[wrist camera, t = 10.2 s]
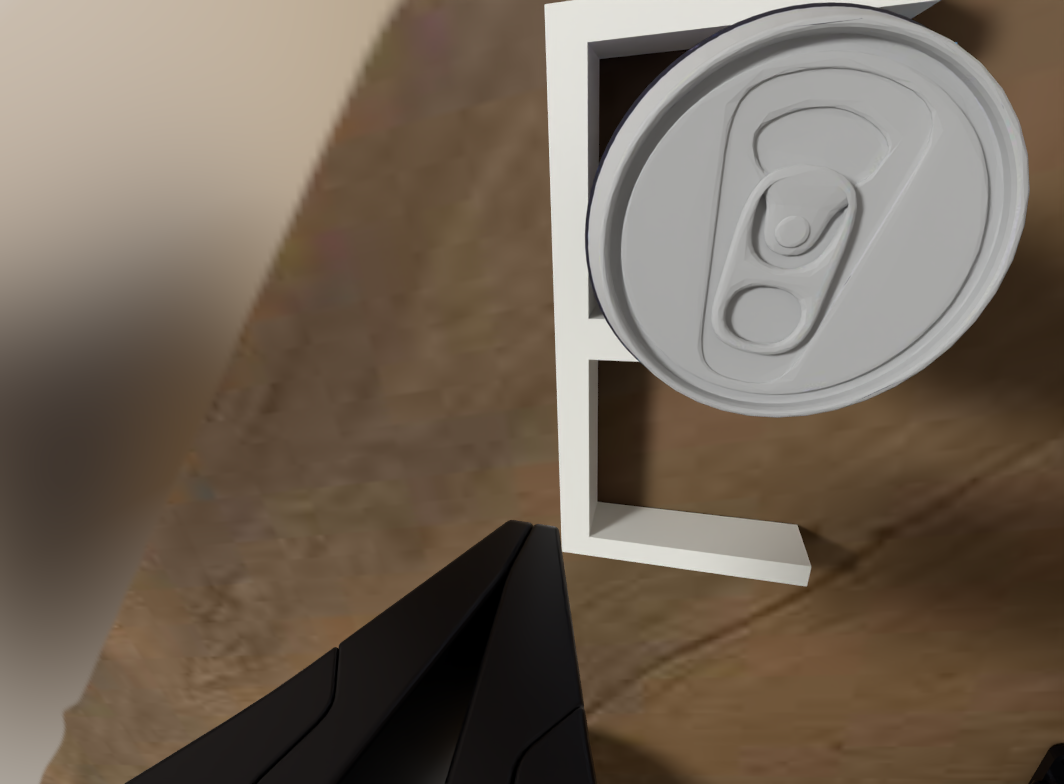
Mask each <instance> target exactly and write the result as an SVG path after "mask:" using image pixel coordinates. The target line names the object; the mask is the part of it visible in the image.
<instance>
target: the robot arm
mask: <svg viewBox="0 0 1064 784" xmlns="http://www.w3.org/2000/svg"><path fill="white" fill-rule="evenodd" d="M125 784H597V780H596V775H595V769H594V764H593V758H592V752H591V747H590V741H589V734H588V727H587V720H586V713H585V710H584V701H583V694H582V688H581V681H580V674H579V667H578V660H577V653H576V646H575V639H574V632H573V625H572V618H571V611H570V604H569V597H568V590H567V583H566V576H565V569H564V562H563V555H562V548H561V541H560V534H559V530H558V528H557V527H554V526H548V525H542V524H536V525H534V526H533V525H532V524H531V523H529V522H522V521H516V520H510V521H507V522H506V523H504V524H503V525H502V526H500V527H499V528H498V529H496V530H495V531H494V532H492V533H491V534H489V535H488V536H487V537H485V538H484V539H483V540H481V541H480V542H478V543H477V544H476V545H474V546H473V547H472V548H470V549H469V550H467V551H466V552H465V553H463V554H462V555H461V556H459V557H458V558H456V559H455V560H454V561H452V562H451V563H450V564H448V565H447V566H445V567H444V568H443V569H441V570H440V571H439V572H437V573H436V574H435V575H433V576H432V577H430V578H429V579H428V580H426V581H425V582H424V583H422V584H421V585H419V586H418V587H417V588H415V589H414V590H413V591H411V592H410V593H408V594H407V595H406V596H404V597H403V598H402V599H400V600H399V601H397V602H396V603H395V604H393V605H392V606H391V607H389V608H388V609H386V610H385V611H384V612H382V613H381V614H380V615H378V616H377V617H376V618H374V619H373V620H371V621H370V622H369V623H367V624H366V625H365V626H363V627H362V628H360V629H359V630H358V631H356V632H355V633H354V634H352V635H351V636H349V637H348V638H347V639H345V640H344V641H343V642H341V643H340V644H339V649H338V648H336V647H335V648H333V649H331V650H330V651H329V652H327V653H326V654H324V655H323V656H322V657H320V658H319V659H318V660H316V661H315V662H313V663H312V664H311V665H309V666H308V667H306V668H305V669H304V670H302V671H301V672H299V673H298V674H296V675H295V676H293V677H292V678H291V679H289V680H288V681H286V682H285V683H283V684H282V685H281V686H279V687H278V688H276V689H275V690H273V691H272V692H270V693H269V694H267V695H266V696H264V697H263V698H261V699H259V700H258V701H256V702H255V703H253V704H252V705H250V706H249V707H247V708H245V709H244V710H242V711H241V712H239V713H238V714H236V715H235V716H233V717H231V718H230V719H228V720H227V721H225V722H224V723H222V724H220V725H219V726H217V727H215V728H214V729H212V730H211V731H209V732H207V733H206V734H204V735H202V736H201V737H199V738H198V739H196V740H194V741H193V742H191V743H190V744H188V745H186V746H185V747H183V748H181V749H180V750H178V751H177V752H175V753H173V754H172V755H170V756H168V757H167V758H165V759H164V760H162V761H160V762H159V763H157V764H156V765H154V766H152V767H151V768H149V769H147V770H146V771H144V772H143V773H141V774H139V775H138V776H136V777H134V778H133V779H131V780H130V781H128V782H126V783H125ZM1029 784H1064V746H1062V745H1061V746H1055V747H1052V748H1050V749H1049V750H1048V752H1047V754H1046V755H1045V757H1044V759H1043V760H1042V762H1041V764H1040V765H1039V767H1038V769H1037V770H1036V772H1035V774H1034V776H1033V777H1032V779H1031V781H1030V782H1029Z"/></svg>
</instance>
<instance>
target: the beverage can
mask: <svg viewBox="0 0 1064 784" xmlns="http://www.w3.org/2000/svg"><path fill="white" fill-rule="evenodd" d="M1028 197H1029V168H1028V154H1027V150H1026V146H1025V142H1024V138H1023V134H1022V130H1021V126H1020V122H1019V120H1018V118H1017V116H1016V114H1015V112H1014V110H1013V108H1012V106H1011V104H1010V102H1009V100H1008V98H1007V96H1006V94H1005V92H1004V90H1003V89H1002V88H1001V86H1000V85H999V84H998V83H997V82H996V80H995V79H994V78H993V77H992V75H991V74H990V73H989V72H988V71H987V69H986V68H985V67H984V66H983V65H982V63H981V62H979V61H978V60H977V59H976V58H974V57H973V56H972V55H970V54H969V53H968V52H966V51H965V50H964V49H963V48H961V47H960V46H959V45H957V44H956V43H955V42H953V41H952V40H950V39H948V38H946V37H944V36H942V35H940V34H938V33H936V32H934V31H932V30H931V29H929V28H927V27H926V26H924V25H922V24H920V23H918V22H916V21H914V20H912V19H910V18H908V17H905V16H903V15H900V14H897V13H894V12H891V11H888V10H885V9H881V8H876V7H872V6H867V5H860V4H853V3H835V2H827V3H809V4H802V5H794V6H789V7H784V8H780V9H775V10H771V11H768V12H765V13H762V14H758V15H755V16H752V17H750V18H747V19H745V20H742V21H740V22H737V23H735V24H733V25H731V26H729V27H727V28H724V29H722V30H720V31H718V32H717V33H715V34H713V35H711V36H710V37H708V38H706V39H704V40H703V41H701V42H700V43H698V44H697V45H695V46H694V47H692V48H691V49H689V50H688V51H686V52H685V53H684V54H683V55H681V56H680V57H679V58H677V59H676V60H675V61H674V62H672V63H671V64H670V65H669V66H668V67H667V68H666V69H665V70H663V71H662V72H661V73H660V74H659V75H658V76H657V77H656V78H655V79H654V80H653V81H652V82H651V83H650V84H649V85H648V86H647V87H646V89H645V90H644V91H643V92H642V93H641V94H640V96H639V97H638V98H637V99H636V100H635V102H634V103H633V104H632V106H631V107H630V108H629V110H628V111H627V113H626V114H625V115H624V117H623V118H622V120H621V122H620V123H619V125H618V126H617V128H616V130H615V131H614V133H613V135H612V137H611V139H610V141H609V143H608V144H607V147H606V149H605V151H604V153H603V155H602V158H601V160H600V163H599V165H598V168H597V171H596V174H595V177H594V180H593V184H592V187H591V191H590V196H589V201H588V206H587V213H586V223H585V252H586V262H587V268H588V274H589V278H590V282H591V286H592V289H593V292H594V295H595V298H596V301H597V303H598V305H599V308H600V310H601V312H602V314H603V316H604V318H605V320H606V322H607V323H608V325H609V327H610V328H611V330H612V331H613V333H614V334H615V336H616V337H617V338H618V340H619V341H620V342H621V343H622V345H623V346H624V347H625V348H626V349H627V350H628V352H630V353H631V354H632V355H633V356H634V357H635V358H636V359H637V360H638V361H639V362H640V363H641V364H642V365H644V366H645V367H646V368H647V369H649V370H650V371H651V372H652V373H653V374H654V375H655V376H656V377H658V378H659V379H660V380H662V381H663V382H664V383H666V384H667V385H669V386H670V387H671V388H673V389H674V390H676V391H678V392H680V393H682V394H684V395H685V396H687V397H689V398H691V399H693V400H695V401H697V402H700V403H702V404H705V405H708V406H711V407H714V408H717V409H720V410H723V411H728V412H733V413H738V414H743V415H748V416H761V417H793V416H807V415H812V414H817V413H822V412H828V411H833V410H837V409H840V408H843V407H847V406H850V405H853V404H856V403H859V402H862V401H865V400H868V399H870V398H872V397H874V396H876V395H878V394H881V393H883V392H885V391H887V390H889V389H891V388H893V387H896V386H897V385H899V384H900V383H902V382H904V381H905V380H907V379H909V378H910V377H912V376H913V375H915V374H917V373H918V372H920V371H921V370H923V369H925V368H926V367H927V366H928V365H929V364H931V363H932V362H933V361H934V360H936V359H937V358H938V357H939V356H941V355H942V354H943V353H944V352H946V351H947V350H948V349H949V348H950V347H952V346H953V344H954V343H955V342H956V341H957V340H958V339H959V338H960V337H961V336H962V335H963V334H964V333H965V332H966V331H967V330H968V329H969V328H970V327H971V326H972V325H973V323H974V322H975V321H976V320H977V319H978V317H979V316H980V314H981V313H982V312H983V310H984V309H985V307H986V306H987V305H988V303H989V302H990V301H991V299H992V298H993V296H994V295H995V294H996V292H997V290H998V288H999V286H1000V284H1001V283H1002V281H1003V279H1004V277H1005V275H1006V273H1007V271H1008V269H1009V267H1010V265H1011V263H1012V261H1013V259H1014V256H1015V253H1016V250H1017V247H1018V244H1019V241H1020V238H1021V235H1022V231H1023V228H1024V225H1025V218H1026V211H1027V204H1028Z"/></svg>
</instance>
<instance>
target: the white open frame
mask: <svg viewBox="0 0 1064 784" xmlns="http://www.w3.org/2000/svg"><path fill="white" fill-rule="evenodd" d="M939 1H941V0H572V1H565V2H558V3H551V4H545V33H546V64H547V96H548V127H549V158H550V189H551V221H552V252H553V283H554V315H555V346H556V377H557V409H558V440H559V471H560V502H561V534H562V552H569V553H576V554H583V555H590V556H597V557H604V558H611V559H618V560H625V561H632V562H639V563H646V564H653V565H660V566H667V567H674V568H681V569H688V570H695V571H702V572H709V573H716V574H723V575H730V576H737V577H744V578H751V579H758V580H765V581H772V582H779V583H786V584H793V585H800V586H807V584H808V580H809V575H810V571H811V564H810V561H809V558H808V555H807V552H806V549H805V546H804V543H803V540H802V537H801V534H800V532H799V529H798V526H797V525H795V524H786V523H777V522H769V521H760V520H751V519H743V518H734V517H725V516H717V515H708V514H699V513H690V512H682V511H673V510H664V509H656V508H647V507H638V506H630V505H621V504H612V503H604V502H597V481H598V360H611V361H634V362H639V361H638V360H637V359H636V358H635V357H634V356H633V355H632V354H631V353H630V352H628V350H627V349H626V348H625V347H624V346H623V345H622V343H621V342H620V341H619V340H618V338H617V337H616V336H615V334H614V333H613V331H612V330H611V328H610V327H609V325H608V323H607V322H606V320H605V318H604V316H603V314H602V312H601V310H600V308H599V305H598V303H597V301H596V298H595V295H594V292H593V289H592V286H591V282H590V278H589V274H588V268H587V262H586V252H585V223H586V213H587V206H588V201H589V196H590V191H591V187H592V184H593V180H594V177H595V174H596V171H597V168H598V165H599V59H605V58H614V57H623V56H632V55H641V54H650V53H659V52H668V51H677V50H686V49H691V48H692V47H694V46H695V45H697V44H698V43H700V42H701V41H703V40H704V39H706V38H708V37H710V36H711V35H713V34H715V33H717V32H718V31H720V30H722V29H724V28H727V27H729V26H731V25H733V24H735V23H737V22H740V21H742V20H745V19H747V18H750V17H752V16H755V15H758V14H762V13H765V12H768V11H771V10H775V9H780V8H784V7H789V6H794V5H802V4H809V3H827V2H835V3H853V4H860V5H867V6H872V7H876V8H881V9H885V10H888V11H891V12H894V13H897V14H900V15H903V16H905V17H908V18H910V19H912V18H914V17H915V16H917V15H918V14H920V13H922V12H923V11H925V10H926V9H928V8H930V7H931V6H933V5H934V4H936V3H938V2H939ZM955 43H956V44H957V42H955Z"/></svg>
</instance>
